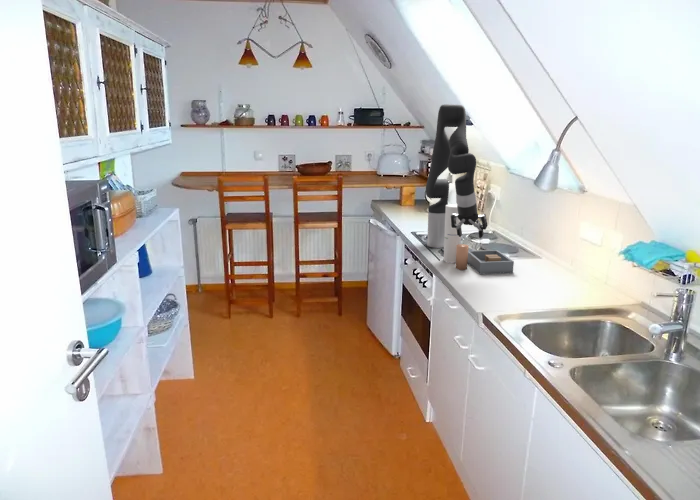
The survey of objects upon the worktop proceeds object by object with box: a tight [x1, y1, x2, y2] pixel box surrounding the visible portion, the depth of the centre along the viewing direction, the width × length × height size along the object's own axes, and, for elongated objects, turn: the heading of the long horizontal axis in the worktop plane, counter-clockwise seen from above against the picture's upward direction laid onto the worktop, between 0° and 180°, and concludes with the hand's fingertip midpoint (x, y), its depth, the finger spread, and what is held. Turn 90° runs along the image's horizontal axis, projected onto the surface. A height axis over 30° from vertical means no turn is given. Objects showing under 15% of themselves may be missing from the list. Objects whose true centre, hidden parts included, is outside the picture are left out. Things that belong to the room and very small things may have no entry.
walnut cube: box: [485, 255, 501, 262], centre depth 207 cm, size 5×5×5 cm
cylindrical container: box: [443, 203, 462, 264], centre depth 219 cm, size 7×7×25 cm
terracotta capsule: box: [455, 243, 470, 271], centre depth 210 cm, size 5×5×10 cm
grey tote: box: [468, 249, 515, 275], centre depth 212 cm, size 18×14×5 cm
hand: (470, 236), depth 204 cm, fingers open, 8 cm apart
